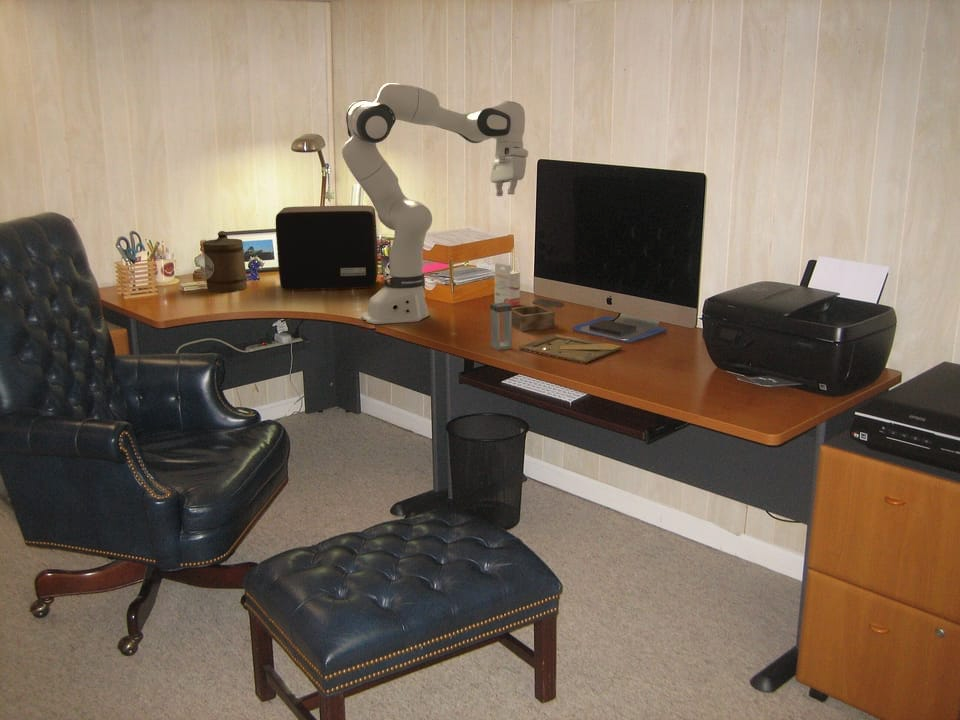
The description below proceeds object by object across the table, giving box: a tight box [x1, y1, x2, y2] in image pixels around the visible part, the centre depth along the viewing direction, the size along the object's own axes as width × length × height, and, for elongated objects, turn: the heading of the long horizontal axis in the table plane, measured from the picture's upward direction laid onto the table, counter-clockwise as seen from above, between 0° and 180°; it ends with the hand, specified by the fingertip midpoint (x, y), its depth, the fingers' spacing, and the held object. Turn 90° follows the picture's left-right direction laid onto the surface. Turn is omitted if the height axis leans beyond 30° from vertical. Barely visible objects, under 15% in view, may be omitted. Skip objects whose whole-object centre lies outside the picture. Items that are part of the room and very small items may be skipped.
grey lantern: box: [490, 302, 513, 351], centre depth 277 cm, size 5×5×13 cm
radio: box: [275, 204, 379, 291], centre depth 360 cm, size 36×18×30 cm, turn 94°
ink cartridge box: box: [493, 262, 521, 308], centre depth 330 cm, size 9×5×15 cm, turn 42°
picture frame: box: [518, 333, 623, 364], centre depth 276 cm, size 19×2×24 cm
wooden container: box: [202, 230, 248, 293], centre depth 360 cm, size 15×15×22 cm
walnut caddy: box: [512, 304, 555, 332], centre depth 302 cm, size 11×11×5 cm
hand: (505, 195), depth 311 cm, fingers open, 8 cm apart
